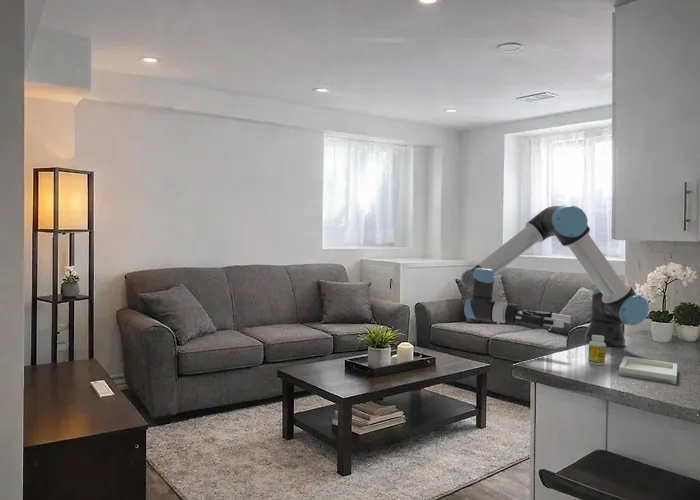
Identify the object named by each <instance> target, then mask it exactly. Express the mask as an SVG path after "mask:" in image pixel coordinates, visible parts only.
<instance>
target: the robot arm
mask: <svg viewBox="0 0 700 500" xmlns="http://www.w3.org/2000/svg"><path fill="white" fill-rule="evenodd" d="M588 221H589V220H588V216H587V215H586V213H585V211H584V210H583V209H582V208H580V207H578V206H575V205H571V204H563V205H551V206H548V207H546V208H545V209H542V210H541V211H540V212H539V213H537V214H536V215H534V217H533V218H531V219H530V220H528V221H527V222H526V223H525V227H523V228H522V229H521V230H520V231H518V232H517V233H516V234H515V235H514V236H512V237H511V238H510V239H509V240H507V241H505V243H503V244H502V245H501V246H499V247H498V248H497V249H495V250H494V251H493V252H492V253H490V254H489V255H488V256H487V257H485V258H483V260H482V261H481V262H479V263H477V265H475V266H474V267H472V268H471V269H467V270H465V271H463V272H462V274H461V276H460V283H461V284H462V286H464V287H465V288H466V289H468V290H471V291H472V293H471V298H466V300H465V303H464V307H463V308H464V310H463V311H464V315H465V317H467V318H468V319H472V320H473V319H474V320H479V321H486V322H492V323H496V324H497V325H499V324H500V323H501V324H505V323H506V324H507V325H514V326H516V325H517V324H518V323H519V322H523V323H526V324H530V325H535V326H539V327H540V328H543V327H544V326H545V327H555V328H562V329H564V328H565V323H566V324H571V319H572V316H571V315H569V314H562V313H561V314H560V313H553V311H552V310H550V311H549V312H548V311H535V310H527V309H523V310H522V311H521V310H520V306H519V304H515V303H507V302H501V301H494V300H493V294H494V283H495V282H494V281H495V276H496V275H497V274H498V273H500V272H501V271H502V270H504V269H505V268H506V267H508V266H509V265H510V264H511V263H512V262H514V261H515V260H516V259H518V258H519V257H520V256H521V255H523V254H524V253H526V251H528V250H529V249H530V248H532V247H533V246H535V245H536V244H538V243H542V242H544V241H545V240H547V239H548V238H550V237H556V238H557V240H558V241H559V243H560V244H561V245H562V246H563V247H567V248H569V249H570V251H571V253H573V255H574V256H575V258H576V259H577V261H578V262H579V264H581V266H582V267H583V269H584V271H585V272H586V273H587V275H588V276H589V278H590V279H591V280H592V282H593V283H594V285H596V287H594V288H593V290H592V295H591V299H592V300H591V311H590V313H591V315H590V323H589V325H588V328H587V330H586V332H585V335H584V341H585V342H587V343H589V342H590V341H592V339H591V338H592V335H601V336H604V341H603V342H604V343H605V344H606V347H625V345H626V339H625V334H624V330H623V326H622V324H624V325H627V326H628V325H629V326H636V325H640V324H641V323H644V321H645V320H646V318H647V317H648V314H649V310H650V306H649V302H648V301H647V299H646V298H644V296H642V295H641V294H640V295H639V294H637V293H636V292H635V290H634V288H632V286H631V285H630V284H629V283H626V282H625V283H624V282H623V281H622V279H621V278H620V276H619V275H618V273H617V272H616V270H615V269H614V268H613V266H612V265H611V264H610V262H609V261H608V260H607V258H606V257H605V255H604V254H603V252H602V251H601V250H600V248H599V247H598V246H597V244H596V243H595V241H594V240H593V238H592V237H591V235H590V232H591V228H590V226H589V225H588Z"/></svg>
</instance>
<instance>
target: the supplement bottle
mask: <svg viewBox="0 0 700 500" xmlns="http://www.w3.org/2000/svg"><path fill="white" fill-rule="evenodd" d="M591 339H592V341H590V342H588V343H589V344H588V352H587V353H588V354H587V356H588V357H587V359H588V360H587V362H588V363H589V364H590V365H594V366H605V363H606V352H607V350H606V349H607V346H606V344H605V343H604V342H603V341H604V336H601V335H592V338H591Z"/></svg>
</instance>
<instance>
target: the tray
mask: <svg viewBox="0 0 700 500" xmlns="http://www.w3.org/2000/svg"><path fill="white" fill-rule="evenodd" d="M618 375H619V376H624V377H630V378H635V379H644V380H648V381H649V380H650V381H656V382H660V383H661V382H662V383H666V384H667V383H668V384H673V385H677V381H678V379H677V378H678V363H675V362H668V361H661V360H656V359H655V360H652V359H647V358H640V357H633V356H628V355H627V356H626V355H624V356H623V357H622V360H621V362H620V364H619V366H618Z"/></svg>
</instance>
